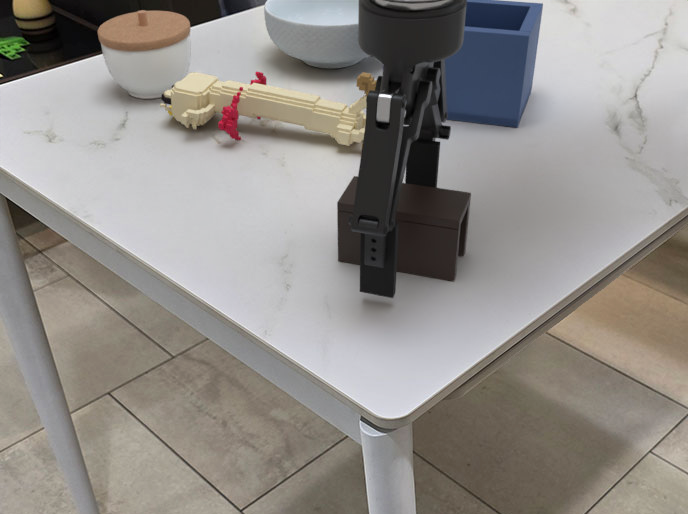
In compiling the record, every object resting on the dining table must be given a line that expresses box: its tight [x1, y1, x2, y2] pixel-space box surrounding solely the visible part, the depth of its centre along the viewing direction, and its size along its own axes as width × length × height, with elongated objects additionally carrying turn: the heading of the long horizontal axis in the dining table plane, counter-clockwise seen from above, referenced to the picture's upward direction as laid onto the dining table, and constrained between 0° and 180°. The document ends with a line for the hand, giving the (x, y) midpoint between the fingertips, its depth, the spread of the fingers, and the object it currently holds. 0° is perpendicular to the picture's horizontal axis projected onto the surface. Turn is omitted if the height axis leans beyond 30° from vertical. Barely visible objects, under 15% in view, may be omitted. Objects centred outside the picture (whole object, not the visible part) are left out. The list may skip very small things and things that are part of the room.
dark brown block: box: [336, 175, 472, 282], centre depth 71 cm, size 10×5×6 cm, turn 69°
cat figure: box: [159, 71, 377, 153], centre depth 90 cm, size 10×9×25 cm
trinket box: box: [97, 9, 192, 100], centre depth 101 cm, size 11×11×9 cm
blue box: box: [382, 0, 544, 128], centre depth 94 cm, size 15×10×10 cm, turn 69°
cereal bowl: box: [263, 0, 370, 69], centre depth 107 cm, size 17×17×7 cm
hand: (399, 247), depth 72 cm, fingers open, 13 cm apart
